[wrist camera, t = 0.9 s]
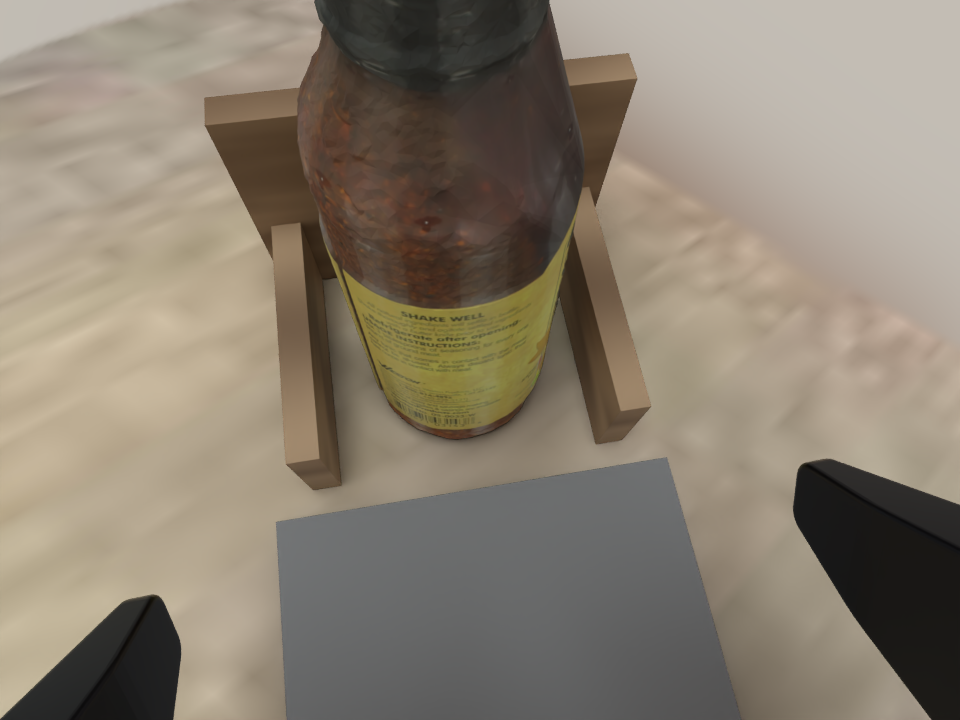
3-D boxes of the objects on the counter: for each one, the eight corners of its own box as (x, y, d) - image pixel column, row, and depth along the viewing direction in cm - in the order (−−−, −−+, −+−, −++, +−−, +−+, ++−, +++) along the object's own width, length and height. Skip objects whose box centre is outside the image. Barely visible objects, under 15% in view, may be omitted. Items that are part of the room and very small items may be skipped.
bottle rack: (634, 437, 24) (726, 339, 16) (299, 492, 23) (210, 416, 15) (577, 224, 28) (628, 53, 20) (283, 263, 27) (204, 98, 18)
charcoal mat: (751, 770, 20) (756, 773, 20) (298, 868, 19) (294, 872, 19) (663, 459, 24) (666, 457, 24) (278, 523, 23) (276, 522, 22)
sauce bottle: (568, 388, 25) (877, -271, 7) (430, 478, 24) (334, -53, 5) (474, 264, 27) (509, -514, 9) (341, 339, 25) (40, -405, 7)
